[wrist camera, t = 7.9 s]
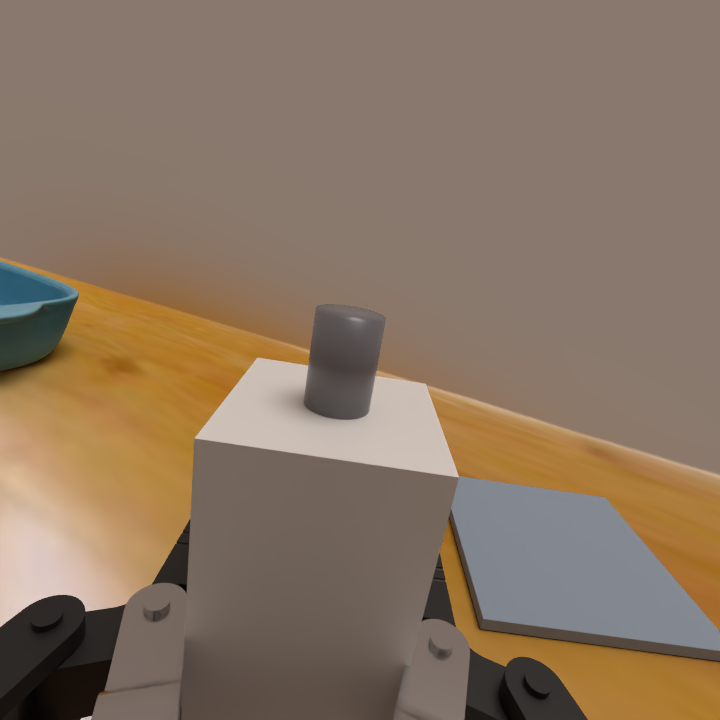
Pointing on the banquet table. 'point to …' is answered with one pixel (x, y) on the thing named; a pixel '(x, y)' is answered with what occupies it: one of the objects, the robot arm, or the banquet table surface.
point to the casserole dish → (31, 315)
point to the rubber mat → (570, 572)
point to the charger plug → (313, 534)
